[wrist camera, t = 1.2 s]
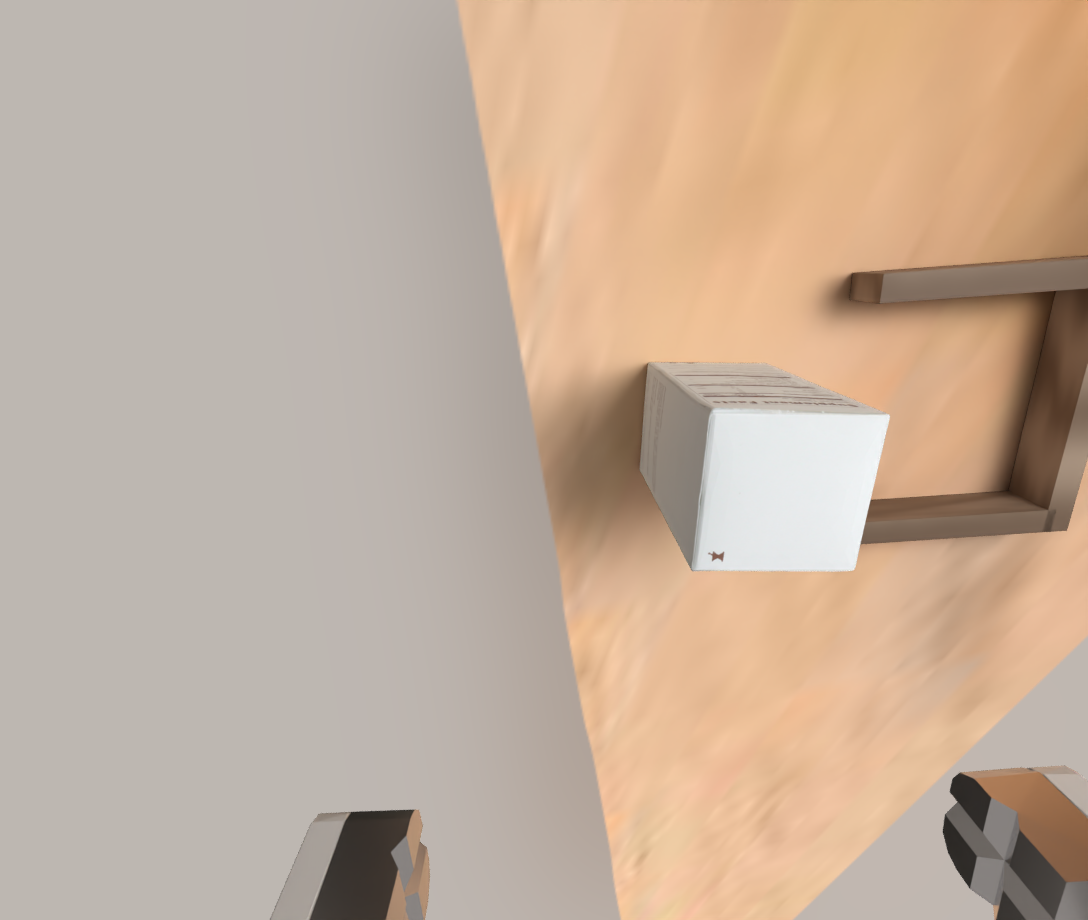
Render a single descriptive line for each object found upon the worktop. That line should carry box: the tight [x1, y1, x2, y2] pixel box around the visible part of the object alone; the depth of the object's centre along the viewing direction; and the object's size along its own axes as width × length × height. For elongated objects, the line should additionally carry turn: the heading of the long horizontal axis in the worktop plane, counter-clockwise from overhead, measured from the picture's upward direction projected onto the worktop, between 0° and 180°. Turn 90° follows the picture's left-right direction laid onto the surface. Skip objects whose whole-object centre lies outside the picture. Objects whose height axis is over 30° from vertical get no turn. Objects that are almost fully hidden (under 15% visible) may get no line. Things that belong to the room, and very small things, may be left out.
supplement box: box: [640, 362, 890, 571], centre depth 28 cm, size 7×7×13 cm
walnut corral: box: [850, 256, 1088, 544], centre depth 32 cm, size 16×14×3 cm
